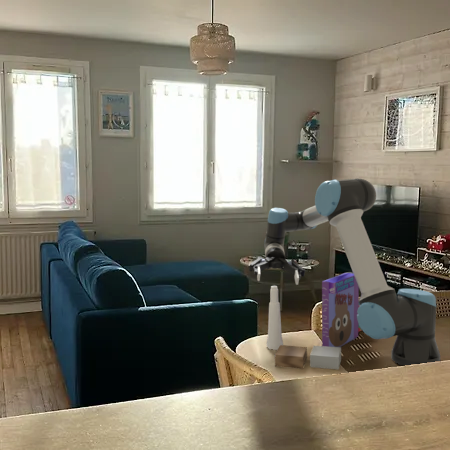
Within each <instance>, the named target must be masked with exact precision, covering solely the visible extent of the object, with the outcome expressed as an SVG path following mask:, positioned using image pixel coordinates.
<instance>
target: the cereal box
mask: <svg viewBox="0 0 450 450" xmlns="http://www.w3.org/2000/svg"><path fill="white" fill-rule="evenodd" d="M359 292H360V289H359V287H358V284H357V281H356V279H355V276H354V274H353V271H348V272H344V273H341V274H339V275H336V276H333V277H330V278H328V279H326V280H322V282H321V334H322V335H321V339H322V340H321V346H328V347H341V348H342V347H344V346H345V345H346V344H348V343H350V342H353V341H354V340H356V339H357V337H358V338H359V332H358V320H357V315H358V313H357V310H358V308H359V299H360V297H359V296H360V295H359Z"/></svg>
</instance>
